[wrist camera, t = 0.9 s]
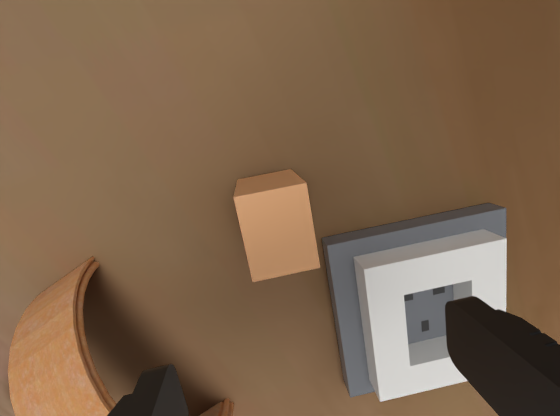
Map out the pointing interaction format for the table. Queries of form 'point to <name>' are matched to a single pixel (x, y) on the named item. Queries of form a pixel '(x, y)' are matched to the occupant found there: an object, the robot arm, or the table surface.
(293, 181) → the cardboard parcel
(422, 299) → the socket plate
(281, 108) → the table surface
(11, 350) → the arch
